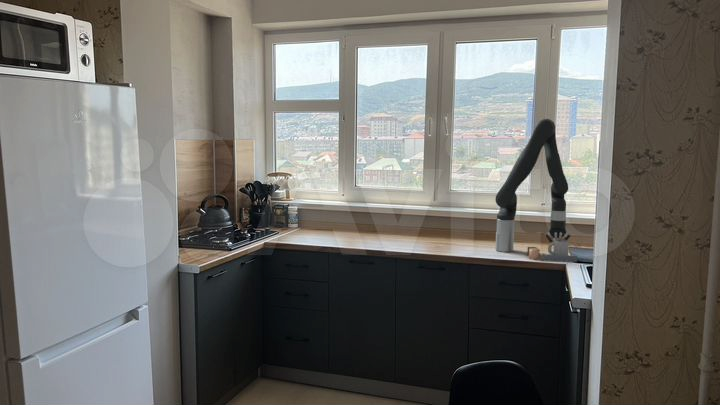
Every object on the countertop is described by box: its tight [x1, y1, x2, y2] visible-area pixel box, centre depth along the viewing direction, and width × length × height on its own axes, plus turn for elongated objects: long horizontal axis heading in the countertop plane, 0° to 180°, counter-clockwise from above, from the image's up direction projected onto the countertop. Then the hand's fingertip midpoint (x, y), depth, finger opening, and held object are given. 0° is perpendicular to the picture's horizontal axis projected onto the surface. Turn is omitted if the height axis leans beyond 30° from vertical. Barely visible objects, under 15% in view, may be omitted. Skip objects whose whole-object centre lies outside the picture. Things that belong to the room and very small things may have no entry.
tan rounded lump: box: [528, 247, 541, 261], centre depth 269 cm, size 5×5×5 cm
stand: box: [541, 252, 578, 263], centre depth 265 cm, size 16×4×3 cm, turn 80°
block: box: [527, 246, 539, 256], centre depth 277 cm, size 4×4×4 cm
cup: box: [547, 238, 570, 255], centre depth 271 cm, size 7×10×9 cm
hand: (556, 251), depth 276 cm, fingers closed
